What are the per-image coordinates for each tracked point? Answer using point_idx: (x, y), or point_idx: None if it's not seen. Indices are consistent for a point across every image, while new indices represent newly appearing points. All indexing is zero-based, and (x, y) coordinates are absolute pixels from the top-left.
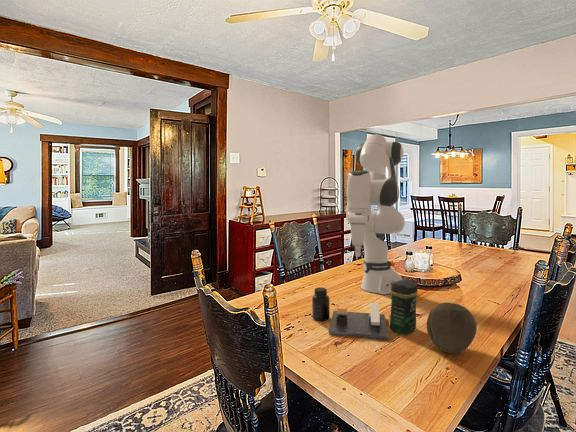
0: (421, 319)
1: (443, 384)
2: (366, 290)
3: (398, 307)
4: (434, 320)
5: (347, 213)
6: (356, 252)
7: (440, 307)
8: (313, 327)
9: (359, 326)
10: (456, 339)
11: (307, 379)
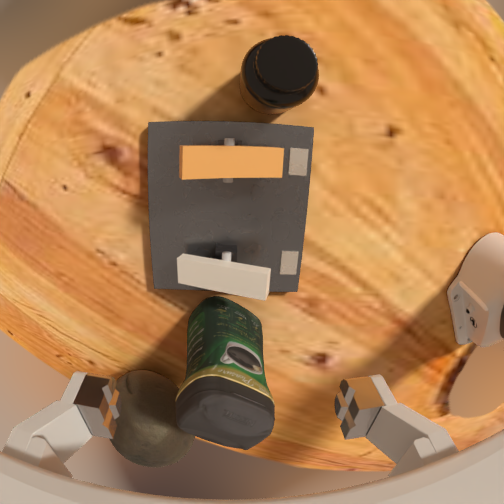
0: (294, 364)
1: (47, 343)
2: (474, 247)
3: (192, 357)
4: None
5: None
6: (67, 402)
7: (132, 439)
8: (195, 69)
9: (196, 215)
10: None
11: None
